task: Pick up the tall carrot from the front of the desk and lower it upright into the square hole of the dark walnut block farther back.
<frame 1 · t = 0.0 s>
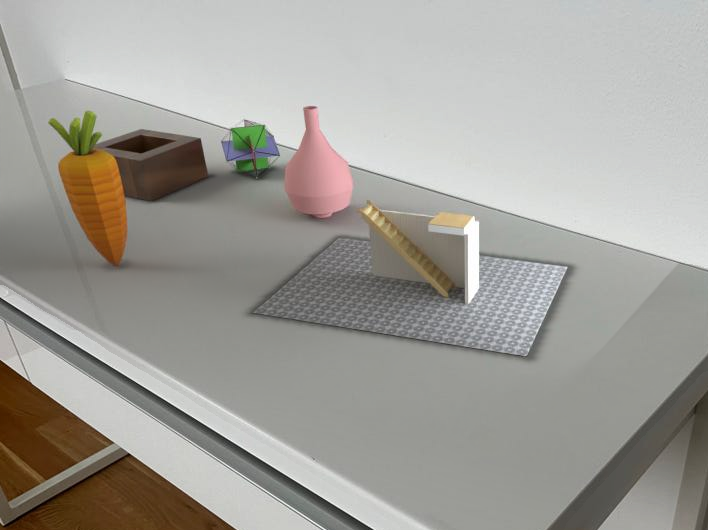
hole block: (150, 182, 95), on the table
model: (419, 290, 71), on the table
pink vase: (322, 215, 87), on the table
carrot: (116, 267, 75), on the table
geometric puzzle: (254, 174, 99), on the table
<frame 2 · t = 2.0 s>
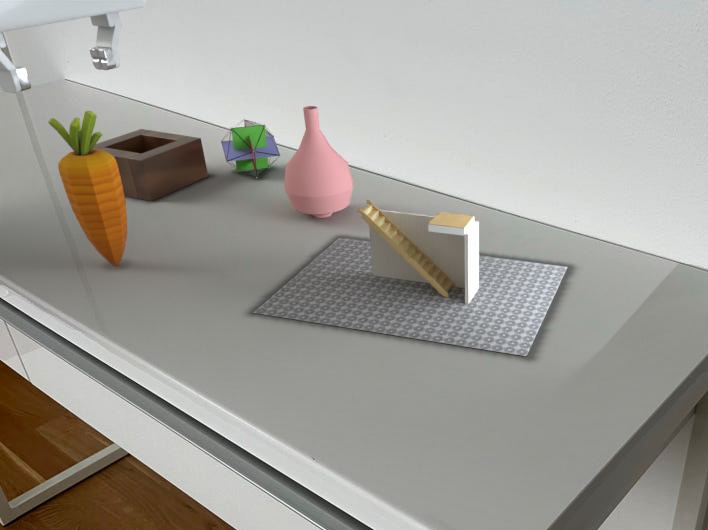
hand: (65, 79, 65), 18 cm above the table, tool pointing down, fingers open, 8 cm apart
nothing on the table moved.
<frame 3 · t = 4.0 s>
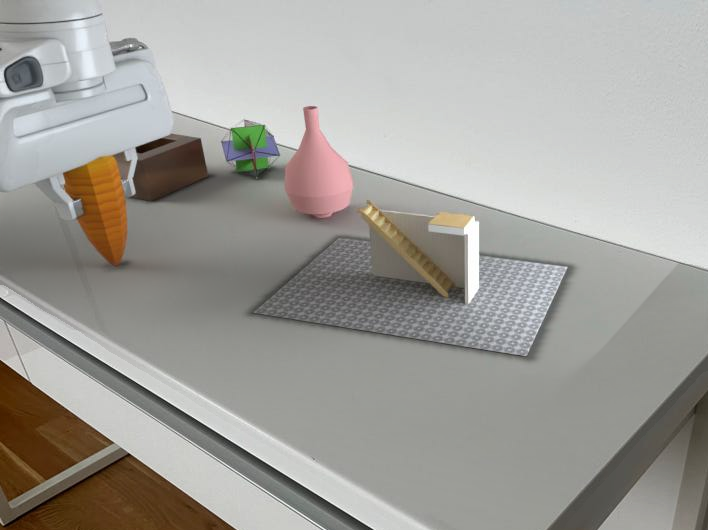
hand: (99, 207, 71), 6 cm above the table, tool pointing down, fingers closed on carrot, 5 cm apart
carrot: (116, 267, 75), on the table, touching gripper
everything else where it was.
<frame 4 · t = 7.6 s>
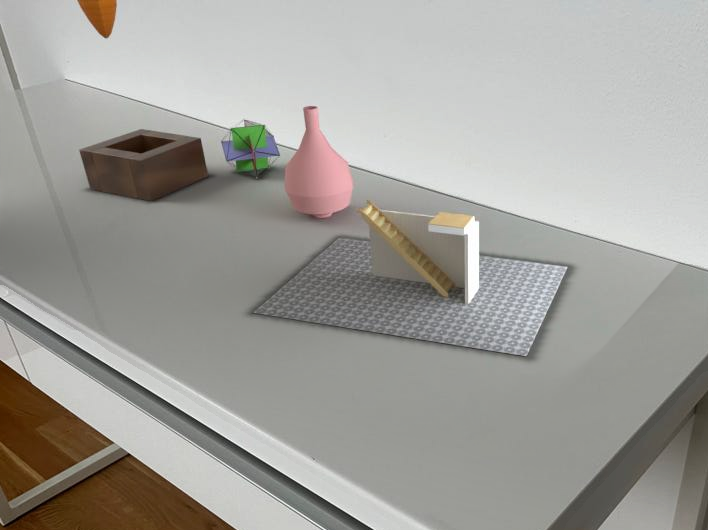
carrot: (107, 40, 82), point 18 cm above the table, touching gripper
everything else where it was.
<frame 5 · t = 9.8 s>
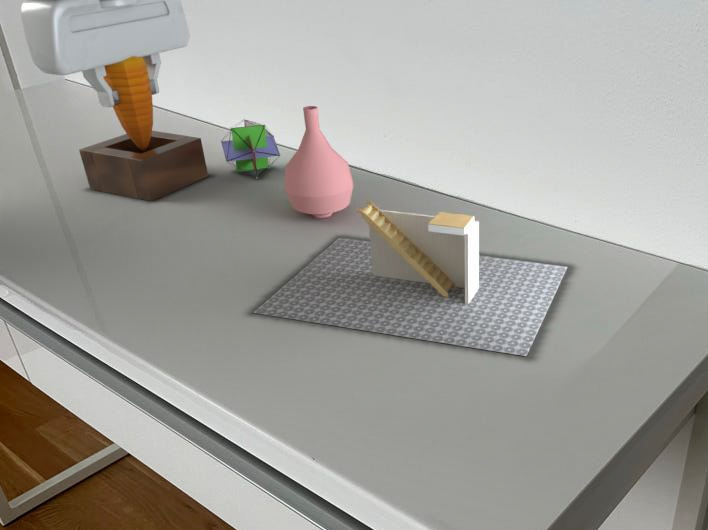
hand: (130, 100, 90), 10 cm above the table, tool pointing down, fingers closed on carrot, 5 cm apart
carrot: (144, 152, 93), point 4 cm above the table, touching gripper
everything else where it was.
when the fingers open (6 cm above the table, at t = 11.5 s): carrot stays where it is, on the table.
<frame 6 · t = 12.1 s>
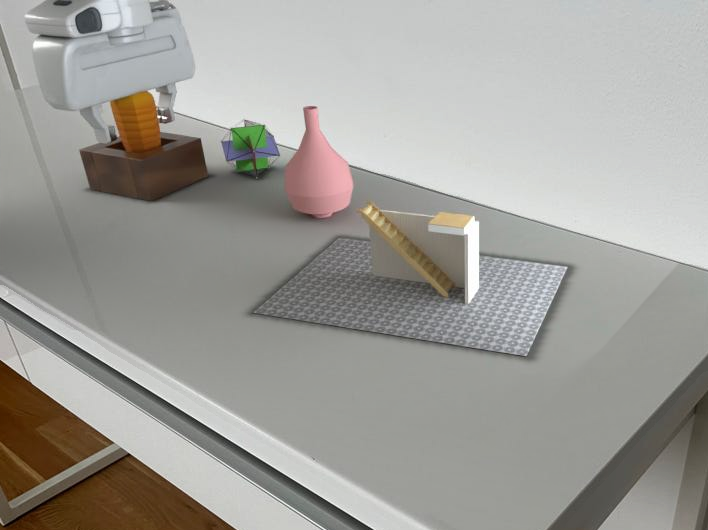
hand: (138, 131, 92), 6 cm above the table, tool pointing down, fingers open, 8 cm apart
carrot: (152, 184, 95), on the table
everything else where it was.
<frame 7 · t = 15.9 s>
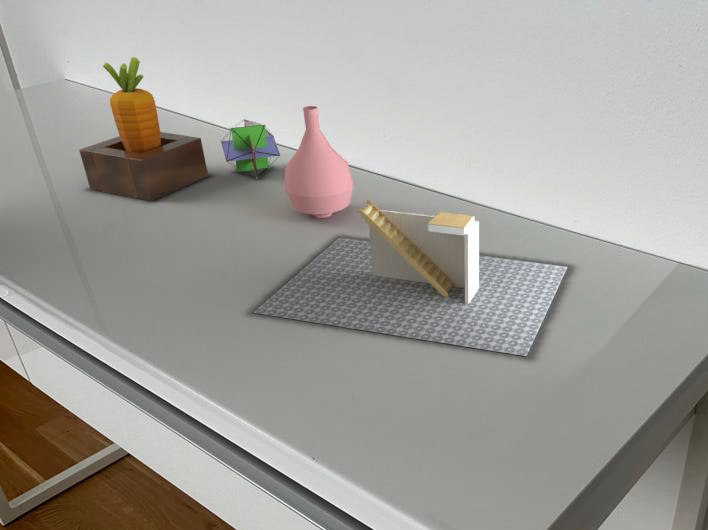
nothing on the table moved.
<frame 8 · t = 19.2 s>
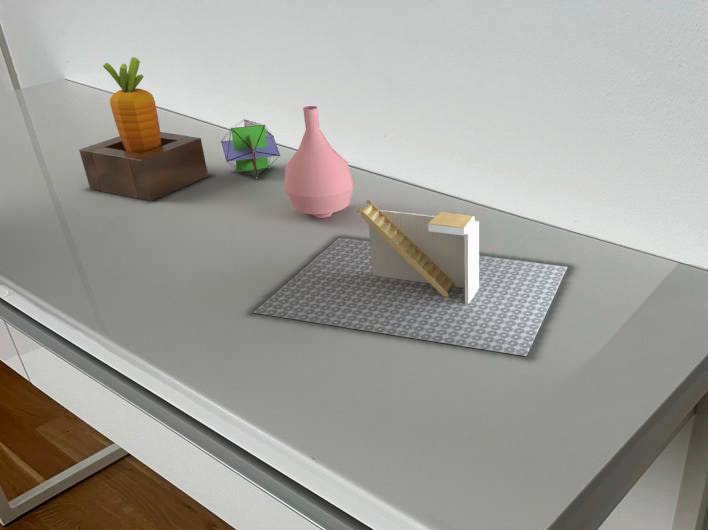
nothing on the table moved.
at the end: carrot 0.2 cm off-centre in the hole block, point 0.0 cm above the hole block's base; carrot tilted 0° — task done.
